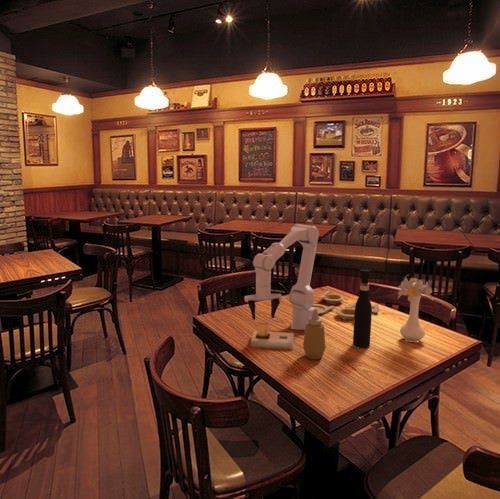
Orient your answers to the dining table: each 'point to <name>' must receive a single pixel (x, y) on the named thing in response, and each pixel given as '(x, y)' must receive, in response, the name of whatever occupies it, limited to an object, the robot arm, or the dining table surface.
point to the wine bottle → (363, 313)
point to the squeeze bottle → (314, 337)
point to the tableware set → (343, 312)
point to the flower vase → (413, 308)
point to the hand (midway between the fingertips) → (263, 318)
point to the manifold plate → (274, 340)
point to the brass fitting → (262, 330)
